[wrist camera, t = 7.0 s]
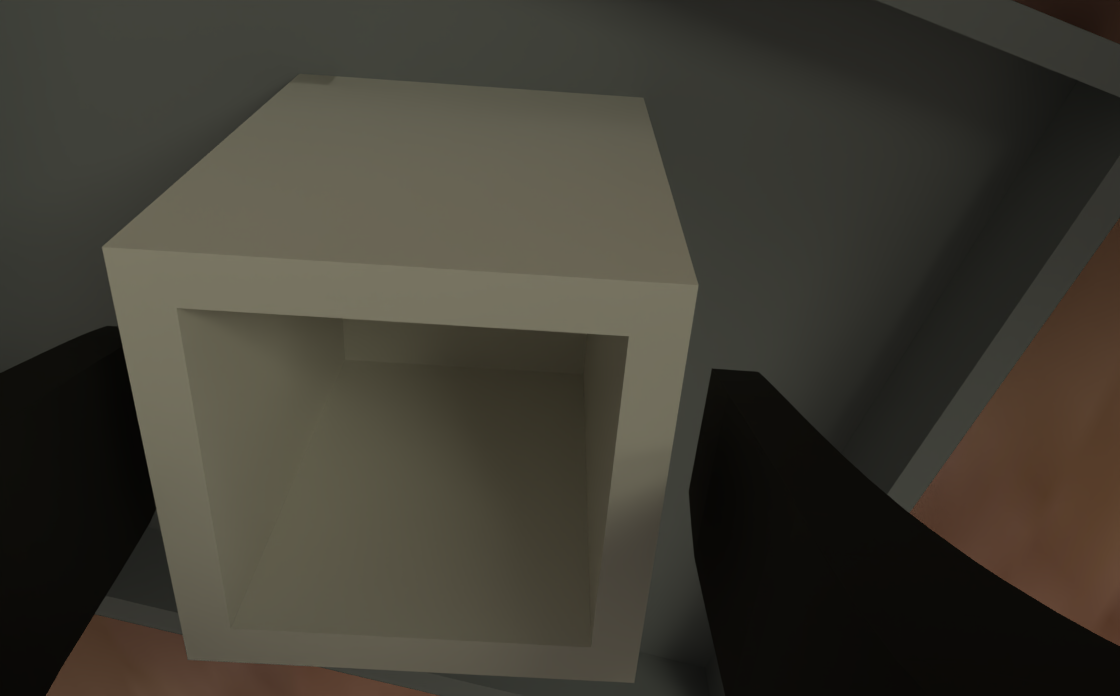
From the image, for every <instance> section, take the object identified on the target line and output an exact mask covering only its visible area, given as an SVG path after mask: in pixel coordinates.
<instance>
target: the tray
mask: <svg viewBox="0 0 1120 696" xmlns="http://www.w3.org/2000/svg"><path fill="white" fill-rule="evenodd" d="M298 74H311V75H325V76H340V77H354V78H368V79H382V80H397V81H411V82H425V83H440V84H454V85H468V86H483V87H497V88H511V89H525V90H540V91H554V92H568V93H583V94H597V95H611V96H626V97H640V98H644V101H645V104H646V108H647V111H648V115H649V118H650V121H651V125H652V128H653V132H654V135H655V138H656V142H657V145H658V149H659V152H660V156H661V159H662V162H663V166H664V169H665V173H666V176H667V179H668V183H669V186H670V190H671V193H672V196H673V200H674V203H675V207H676V210H677V213H678V217H679V220H680V224H681V227H682V231H683V234H684V237H685V241H686V244H687V248H688V251H689V254H690V258H691V261H692V265H693V268H694V271H695V275H696V278H697V282H698V285H699V286H698V292H697V298H696V304H695V310H694V316H693V323H692V329H691V335H690V341H689V347H688V354H687V360H686V366H685V372H684V378H683V384H682V391H681V397H680V403H679V409H678V415H677V422H676V428H675V434H674V440H673V446H672V452H671V459H670V465H669V471H668V477H667V483H666V489H665V496H664V502H663V508H662V514H661V520H660V527H659V533H658V539H657V545H656V551H655V557H654V564H653V570H652V576H651V582H650V588H649V595H648V601H647V607H646V613H645V619H644V625H643V632H642V638H641V644H640V650H639V656H638V662H637V669H636V675H635V681H634V683H625V682H606V681H587V680H567V679H548V678H529V677H510V676H490V675H471V674H452V673H432V672H413V671H394V670H374V669H355V668H336V667H321V668H325V669H330V670H334V671H338V672H342V673H347V674H351V675H355V676H359V677H364V678H368V679H372V680H376V681H381V682H385V683H389V684H393V685H398V686H402V687H406V688H410V689H415V690H419V691H423V692H427V693H432V694H436V695H440V696H725V693H724V688H723V684H722V680H721V675H720V671H719V666H718V662H717V658H716V653H715V649H714V644H713V640H712V636H711V631H710V627H709V622H708V618H707V614H706V609H705V605H704V600H703V596H702V591H701V586H700V582H699V577H698V573H697V568H696V563H695V559H694V550H693V540H692V529H691V517H690V504H689V486H690V481H691V476H692V470H693V465H694V460H695V455H696V449H697V444H698V439H699V434H700V428H701V423H702V418H703V412H704V407H705V402H706V397H707V391H708V386H709V381H710V376H711V370H712V368H713V369H727V370H741V371H755V372H759V373H760V374H761V375H762V376H764V377H765V378H766V379H767V380H768V381H769V382H770V383H771V384H772V385H773V386H774V387H775V388H776V389H777V390H778V391H779V392H780V393H781V394H782V395H783V396H784V397H785V398H786V399H787V400H788V401H789V402H790V403H791V404H792V405H793V406H794V407H795V408H796V409H797V411H798V412H799V413H800V414H801V415H802V416H803V417H804V418H805V419H806V420H807V421H808V422H809V423H810V424H811V425H812V426H813V427H814V428H815V429H816V430H817V431H818V432H819V433H820V434H821V435H822V436H823V437H824V438H825V439H826V440H828V441H829V442H830V443H831V444H832V445H833V446H834V447H835V448H836V449H837V450H838V451H839V452H840V453H841V454H842V455H843V456H844V457H845V458H846V459H847V460H849V461H850V462H851V463H852V464H853V465H854V466H855V467H856V468H857V469H858V470H860V471H861V472H862V473H863V474H864V475H865V476H866V477H867V478H868V479H869V480H871V481H872V482H873V483H874V484H875V485H877V486H878V487H879V488H880V489H881V490H882V491H884V492H885V493H886V494H887V495H888V496H890V497H891V498H892V499H893V500H894V501H895V502H897V503H898V504H899V505H900V506H901V507H903V508H904V509H905V510H906V511H907V512H909V513H910V511H911V510H912V508H913V507H914V506H915V504H916V503H917V501H918V500H919V499H920V497H921V496H922V494H923V493H924V491H925V490H926V489H927V487H928V486H929V484H930V483H931V482H932V480H933V479H934V477H935V476H936V475H937V473H938V472H939V470H940V469H941V468H942V466H943V465H944V463H945V462H946V461H947V459H948V458H949V456H950V455H951V454H952V452H953V451H954V449H955V448H956V447H957V445H958V444H959V442H960V441H961V440H962V438H963V437H964V435H965V434H966V433H967V431H968V430H969V428H970V427H971V426H972V424H973V423H974V421H975V420H976V418H977V417H978V416H979V414H980V413H981V411H982V410H983V409H984V407H985V406H986V404H987V403H988V402H989V400H990V399H991V397H992V396H993V395H994V393H995V392H996V390H997V389H998V388H999V386H1000V385H1001V383H1002V382H1003V381H1004V379H1005V378H1006V376H1007V375H1008V374H1009V372H1010V371H1011V369H1012V368H1013V367H1014V365H1015V364H1016V362H1017V361H1018V360H1019V358H1020V357H1021V355H1022V354H1023V352H1024V351H1025V350H1026V348H1027V347H1028V345H1029V344H1030V343H1031V341H1032V340H1033V338H1034V337H1035V336H1036V334H1037V333H1038V331H1039V330H1040V329H1041V327H1042V326H1043V324H1044V323H1045V322H1046V320H1047V319H1048V317H1049V316H1050V315H1051V313H1052V312H1053V310H1054V309H1055V308H1056V306H1057V305H1058V303H1059V302H1060V301H1061V299H1062V298H1063V296H1064V295H1065V294H1066V292H1067V291H1068V289H1069V288H1070V287H1071V285H1072V284H1073V282H1074V281H1075V279H1076V278H1077V277H1078V275H1079V274H1080V272H1081V271H1082V270H1083V268H1084V267H1085V265H1086V264H1087V263H1088V261H1089V260H1090V258H1091V257H1092V256H1093V254H1094V253H1095V251H1096V250H1097V249H1098V247H1099V246H1100V244H1101V243H1102V242H1103V240H1104V239H1105V237H1106V236H1107V235H1108V233H1109V232H1110V230H1111V229H1112V228H1113V226H1114V225H1115V223H1116V222H1117V221H1118V219H1119V218H1120V44H1118V43H1115V42H1113V41H1110V40H1108V39H1105V38H1103V37H1101V36H1098V35H1096V34H1093V33H1091V32H1088V31H1086V30H1083V29H1081V28H1079V27H1076V26H1074V25H1071V24H1069V23H1066V22H1064V21H1061V20H1059V19H1057V18H1054V17H1052V16H1049V15H1047V14H1044V13H1042V12H1039V11H1037V10H1035V9H1032V8H1030V7H1027V6H1025V5H1022V4H1020V3H1017V2H1015V1H1013V0H0V373H1V372H3V371H6V370H8V369H10V368H12V367H14V366H16V365H18V364H20V363H22V362H24V361H27V360H29V359H31V358H33V357H35V356H37V355H39V354H41V353H43V352H45V351H48V350H50V349H52V348H54V347H56V346H58V345H60V344H63V343H65V342H67V341H69V340H72V339H74V338H76V337H78V336H81V335H83V334H86V333H88V332H91V331H93V330H96V329H99V328H102V327H105V326H118V322H117V317H116V312H115V308H114V303H113V298H112V293H111V288H110V284H109V279H108V274H107V269H106V264H105V260H104V255H103V250H102V246H104V245H105V244H106V243H107V242H108V241H109V240H110V239H111V238H113V237H114V236H115V235H116V234H117V233H118V232H119V231H121V230H122V229H123V228H124V227H125V226H126V225H127V224H129V223H130V222H131V221H132V220H133V219H134V218H135V217H137V216H138V215H139V214H140V213H141V212H142V211H143V210H145V209H146V208H147V207H148V206H149V205H150V204H151V203H153V202H154V201H155V200H156V199H157V198H158V197H159V196H161V195H162V194H163V193H164V192H165V191H166V190H167V189H168V188H170V187H171V186H172V185H173V184H174V183H175V182H176V181H178V180H179V179H180V178H181V177H182V176H183V175H184V174H186V173H187V172H188V171H189V170H190V169H191V168H192V167H194V166H195V165H196V164H197V163H198V162H199V161H200V160H202V159H203V158H204V157H205V156H206V155H207V154H208V153H210V152H211V151H212V150H213V149H214V148H215V147H216V146H218V145H219V144H220V143H221V142H222V141H223V140H224V139H225V138H227V137H228V136H229V135H230V134H231V133H232V132H233V131H235V130H236V129H237V128H238V127H239V126H240V125H241V124H243V123H244V122H245V121H246V120H247V119H248V118H249V117H251V116H252V115H253V114H254V113H255V112H256V111H257V110H259V109H260V108H261V107H262V106H263V105H264V104H265V103H267V102H268V101H269V100H270V99H271V98H272V97H273V96H275V95H276V94H277V93H278V92H279V91H280V90H281V89H283V88H284V87H285V86H286V85H287V84H288V83H289V82H290V81H292V80H293V79H294V78H295V77H296V76H297V75H298ZM95 614H96V615H100V616H104V617H109V618H113V619H117V620H121V621H126V622H130V623H134V624H138V625H143V626H147V627H151V628H155V629H160V630H164V631H168V632H172V633H177V634H181V635H183V634H182V629H181V624H180V619H179V615H178V610H177V605H176V600H175V595H174V591H173V586H172V581H171V576H170V571H169V567H168V562H167V557H166V552H165V547H164V543H163V538H162V533H161V528H160V523H159V519H158V514H157V509H156V510H155V513H154V515H153V517H152V519H151V522H150V523H149V525H148V527H147V529H146V530H145V532H144V534H143V535H142V537H141V539H140V541H139V542H138V544H137V546H136V547H135V549H134V550H133V552H132V554H131V555H130V557H129V559H128V560H127V562H126V564H125V565H124V567H123V569H122V570H121V572H120V574H119V575H118V577H117V579H116V580H115V582H114V583H113V585H112V587H111V588H110V590H109V591H108V593H107V595H106V596H105V598H104V600H103V601H102V603H101V604H100V606H99V608H98V609H97V611H96V612H95Z"/></svg>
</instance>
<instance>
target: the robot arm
mask: <svg viewBox="0 0 1120 696" xmlns="http://www.w3.org/2000/svg"><path fill="white" fill-rule="evenodd" d="M689 504H690V517H691V529H692V540H693V550H694V559H695V563H696V568H697V573H698V577H699V582H700V586H701V591H702V596H703V600H704V605H705V609H706V614H707V618H708V622H709V627H710V631H711V636H712V640H713V644H714V649H715V653H716V658H717V662H718V666H719V671H720V675H721V680H722V684H723V688H724V693H725V696H1120V646H1118V645H1116V644H1114V643H1112V642H1110V641H1108V640H1106V639H1104V638H1102V637H1100V636H1098V635H1097V634H1095V633H1093V632H1091V631H1089V630H1088V629H1086V628H1084V627H1082V626H1080V625H1079V624H1077V623H1075V622H1073V621H1071V620H1070V619H1068V618H1066V617H1064V616H1062V615H1061V614H1059V613H1057V612H1055V611H1054V610H1052V609H1050V608H1049V607H1047V606H1045V605H1044V604H1042V603H1041V602H1039V601H1037V600H1036V599H1034V598H1032V597H1031V596H1029V595H1027V594H1026V593H1024V592H1022V591H1021V590H1019V589H1018V588H1016V587H1014V586H1013V585H1011V584H1009V583H1008V582H1006V581H1004V580H1003V579H1001V578H1000V577H998V576H997V575H995V574H994V573H992V572H991V571H989V570H987V569H986V568H984V567H983V566H981V565H980V564H978V563H977V562H975V561H974V560H972V559H971V558H970V557H968V556H967V555H965V554H964V553H963V552H961V551H960V550H958V549H957V548H956V547H954V546H953V545H952V544H950V543H949V542H947V541H946V540H945V539H943V538H942V537H940V536H939V535H938V534H936V533H935V532H933V531H932V530H931V529H929V528H928V527H927V526H925V525H924V524H923V523H921V522H920V521H919V520H918V519H916V518H915V517H914V516H912V515H911V514H910V513H909V512H907V511H906V510H905V509H904V508H903V507H901V506H900V505H899V504H898V503H897V502H895V501H894V500H893V499H892V498H891V497H890V496H888V495H887V494H886V493H885V492H884V491H882V490H881V489H880V488H879V487H878V486H877V485H875V484H874V483H873V482H872V481H871V480H869V479H868V478H867V477H866V476H865V475H864V474H863V473H862V472H861V471H860V470H858V469H857V468H856V467H855V466H854V465H853V464H852V463H851V462H850V461H849V460H847V459H846V458H845V457H844V456H843V455H842V454H841V453H840V452H839V451H838V450H837V449H836V448H835V447H834V446H833V445H832V444H831V443H830V442H829V441H828V440H826V439H825V438H824V437H823V436H822V435H821V434H820V433H819V432H818V431H817V430H816V429H815V428H814V427H813V426H812V425H811V424H810V423H809V422H808V421H807V420H806V419H805V418H804V417H803V416H802V415H801V414H800V413H799V412H798V411H797V409H796V408H795V407H794V406H793V405H792V404H791V403H790V402H789V401H788V400H787V399H786V398H785V397H784V396H783V395H782V394H781V393H780V392H779V391H778V390H777V389H776V388H775V387H774V386H773V385H772V384H771V383H770V382H769V381H768V380H767V379H766V378H765V377H764V376H762V375H761V374H760V373H759V372H755V371H741V370H727V369H713V368H712V370H711V376H710V381H709V386H708V391H707V397H706V402H705V407H704V412H703V418H702V423H701V428H700V434H699V439H698V444H697V449H696V455H695V460H694V465H693V470H692V476H691V481H690V486H689ZM155 510H156V504H155V499H154V495H153V490H152V485H151V480H150V476H149V471H148V466H147V461H146V456H145V452H144V447H143V442H142V437H141V432H140V428H139V423H138V418H137V413H136V408H135V404H134V399H133V394H132V389H131V384H130V380H129V375H128V370H127V365H126V360H125V356H124V351H123V346H122V341H121V336H120V332H119V327H118V326H105V327H102V328H99V329H96V330H93V331H91V332H88V333H86V334H83V335H81V336H78V337H76V338H74V339H72V340H69V341H67V342H65V343H63V344H60V345H58V346H56V347H54V348H52V349H50V350H48V351H45V352H43V353H41V354H39V355H37V356H35V357H33V358H31V359H29V360H27V361H24V362H22V363H20V364H18V365H16V366H14V367H12V368H10V369H8V370H6V371H3V372H1V373H0V696H46V694H47V693H48V691H49V689H50V687H51V685H52V684H53V682H54V680H55V678H56V676H57V675H58V673H59V671H60V669H61V667H62V666H63V664H64V663H65V661H66V659H67V658H68V656H69V655H70V653H71V651H72V650H73V648H74V646H75V645H76V643H77V642H78V640H79V638H80V637H81V635H82V633H83V632H84V630H85V629H86V627H87V625H88V624H89V622H90V621H91V619H92V617H93V616H94V614H95V612H96V611H97V609H98V608H99V606H100V604H101V603H102V601H103V600H104V598H105V596H106V595H107V593H108V591H109V590H110V588H111V587H112V585H113V583H114V582H115V580H116V579H117V577H118V575H119V574H120V572H121V570H122V569H123V567H124V565H125V564H126V562H127V560H128V559H129V557H130V555H131V554H132V552H133V550H134V549H135V547H136V546H137V544H138V542H139V541H140V539H141V537H142V535H143V534H144V532H145V530H146V529H147V527H148V525H149V523H150V522H151V519H152V517H153V515H154V513H155Z"/></svg>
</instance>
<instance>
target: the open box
mask: <svg viewBox="0 0 1120 696" xmlns="http://www.w3.org/2000/svg"><path fill="white" fill-rule="evenodd" d="M102 250H103V255H104V260H105V264H106V269H107V274H108V279H109V284H110V288H111V293H112V298H113V303H114V308H115V312H116V317H117V322H118V327H119V332H120V336H121V341H122V346H123V351H124V356H125V360H126V365H127V370H128V375H129V380H130V384H131V389H132V394H133V399H134V404H135V408H136V413H137V418H138V423H139V428H140V432H141V437H142V442H143V447H144V452H145V456H146V461H147V466H148V471H149V476H150V480H151V485H152V490H153V495H154V499H155V504H156V509H157V514H158V519H159V523H160V528H161V533H162V538H163V543H164V547H165V552H166V557H167V562H168V567H169V571H170V576H171V581H172V586H173V591H174V595H175V600H176V605H177V610H178V615H179V619H180V624H181V629H182V634H183V639H184V643H185V648H186V653H187V658H188V660H200V661H220V662H239V663H258V664H278V665H297V666H316V667H336V668H355V669H374V670H394V671H413V672H432V673H452V674H471V675H490V676H510V677H529V678H548V679H567V680H587V681H606V682H625V683H634V681H635V675H636V669H637V662H638V656H639V650H640V644H641V638H642V632H643V625H644V619H645V613H646V607H647V601H648V595H649V588H650V582H651V576H652V570H653V564H654V557H655V551H656V545H657V539H658V533H659V527H660V520H661V514H662V508H663V502H664V496H665V489H666V483H667V477H668V471H669V465H670V459H671V452H672V446H673V440H674V434H675V428H676V422H677V415H678V409H679V403H680V397H681V391H682V384H683V378H684V372H685V366H686V360H687V354H688V347H689V341H690V335H691V329H692V323H693V316H694V310H695V304H696V298H697V292H698V286H699V285H698V282H697V278H696V275H695V271H694V268H693V265H692V261H691V258H690V254H689V251H688V248H687V244H686V241H685V237H684V234H683V231H682V227H681V224H680V220H679V217H678V213H677V210H676V207H675V203H674V200H673V196H672V193H671V190H670V186H669V183H668V179H667V176H666V173H665V169H664V166H663V162H662V159H661V156H660V152H659V149H658V145H657V142H656V138H655V135H654V132H653V128H652V125H651V121H650V118H649V115H648V111H647V108H646V104H645V101H644V98H640V97H626V96H611V95H597V94H583V93H568V92H554V91H540V90H525V89H511V88H497V87H483V86H468V85H454V84H440V83H425V82H411V81H397V80H382V79H368V78H354V77H340V76H325V75H311V74H298V75H297V76H296V77H295V78H294V79H293V80H292V81H290V82H289V83H288V84H287V85H286V86H285V87H284V88H283V89H281V90H280V91H279V92H278V93H277V94H276V95H275V96H273V97H272V98H271V99H270V100H269V101H268V102H267V103H265V104H264V105H263V106H262V107H261V108H260V109H259V110H257V111H256V112H255V113H254V114H253V115H252V116H251V117H249V118H248V119H247V120H246V121H245V122H244V123H243V124H241V125H240V126H239V127H238V128H237V129H236V130H235V131H233V132H232V133H231V134H230V135H229V136H228V137H227V138H225V139H224V140H223V141H222V142H221V143H220V144H219V145H218V146H216V147H215V148H214V149H213V150H212V151H211V152H210V153H208V154H207V155H206V156H205V157H204V158H203V159H202V160H200V161H199V162H198V163H197V164H196V165H195V166H194V167H192V168H191V169H190V170H189V171H188V172H187V173H186V174H184V175H183V176H182V177H181V178H180V179H179V180H178V181H176V182H175V183H174V184H173V185H172V186H171V187H170V188H168V189H167V190H166V191H165V192H164V193H163V194H162V195H161V196H159V197H158V198H157V199H156V200H155V201H154V202H153V203H151V204H150V205H149V206H148V207H147V208H146V209H145V210H143V211H142V212H141V213H140V214H139V215H138V216H137V217H135V218H134V219H133V220H132V221H131V222H130V223H129V224H127V225H126V226H125V227H124V228H123V229H122V230H121V231H119V232H118V233H117V234H116V235H115V236H114V237H113V238H111V239H110V240H109V241H108V242H107V243H106V244H105V245H104V246H102Z"/></svg>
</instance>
